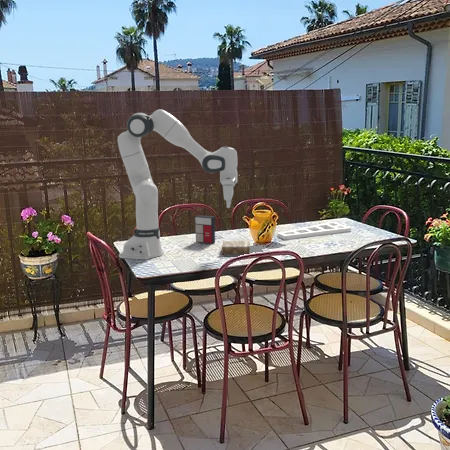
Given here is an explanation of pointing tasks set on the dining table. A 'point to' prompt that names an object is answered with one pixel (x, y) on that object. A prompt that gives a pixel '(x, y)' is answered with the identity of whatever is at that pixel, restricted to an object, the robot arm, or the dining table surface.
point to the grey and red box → (205, 229)
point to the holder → (314, 230)
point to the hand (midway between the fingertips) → (228, 206)
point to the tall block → (235, 247)
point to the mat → (252, 249)
